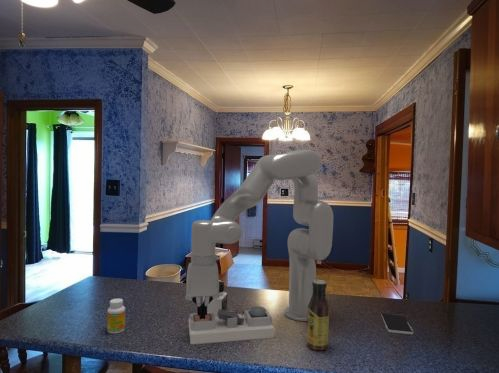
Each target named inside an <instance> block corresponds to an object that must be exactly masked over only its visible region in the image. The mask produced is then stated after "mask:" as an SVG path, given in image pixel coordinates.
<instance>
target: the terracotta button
mask: <svg viewBox="0 0 499 373" xmlns="http://www.w3.org/2000/svg"><path fill="white" fill-rule="evenodd" d="M210 319H211V317H210V316H209V315H205V319H203V318H202V319H200V317H199V316H195V322H197V321H210Z"/></svg>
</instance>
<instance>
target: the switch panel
mask: <svg viewBox="0 0 499 373" xmlns="http://www.w3.org/2000/svg"><path fill="white" fill-rule="evenodd" d="M265 309H266V308H265ZM228 311H229V312H233V313H235V311H234V310H228ZM243 312H244V313H243V314H242V316H243V318H244V322H243V324H240V323H237V317H234V318H227V320H222V319H219V318H218V317H214V313H210V312H208V313H207V315H209V316H210V317H211V319H210V321H197V322H195V316H197V312H195V313H189V318H188V334H189V340H190V341H189V342H190V345H202V344H213V343H215V344H216V343H224V342H228V343H229V342H236V341H237V342H238V341H239V342H240V341H248V340H249V341H251V340H261V339H263V340H264V339H272V338H273V339H274V338H275V330H276V329H275V326H274V325H273V323H272V320H273V319H272V318H273V317H272V315H271V314H270V312H269V311H268V309H266V312H265V317H255V318H251V316H250V309H247V310H244V311H243Z"/></svg>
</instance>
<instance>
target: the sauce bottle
mask: <svg viewBox="0 0 499 373" xmlns="http://www.w3.org/2000/svg"><path fill="white" fill-rule="evenodd" d="M312 286H313V294H312V297H311V300H310V302H309V305H308V318H307V321H306V322H307V323H306V342H307V343H306V344H307V346H308V348H310V349H311V350H315V351H323V350H324V351H325V350H327V348H328V343H329V341H328V340H329V327H330V326H329V324H330V323H329V322H330V321H329V320H330V313H329V312H330V311H329V310H330V304H329V302H328V299H327V294H326V291H327V290H326V288H327V281H325V280H323V279H316V280H314V281H313V283H312Z"/></svg>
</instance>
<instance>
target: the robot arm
mask: <svg viewBox="0 0 499 373" xmlns="http://www.w3.org/2000/svg"><path fill="white" fill-rule="evenodd" d="M321 161H322V160H321V156H320V155H319V153H318V152H317V151H315V150H313V149H298V150H291V151H287V152H285V153H279V154H278V153H277V154H267V155H263V156H262V157H260V158H259V159H258V161H257V162H256V163H255V164H254V167H252V169H251V171H250V172H249V174H248V175H247V176H246V178H245V180H243V182H242V184H241V185H240V187H239V188H238V189H237V190H235V191H234V192H233V193H232V194H231V195H229V196H228V198H227V199H226V200H224V201H223V202H222V204H221V205H220V206H219V208H218V209H217V210H216V211H215V213H214V214H213V216H212V217H211V219H210V220H208V219H202V220H200V219H199V220H194V221H193V222H192V224H191V246H190V248H191V249H190V250H191V252H190V256H191V257H190V262H189V263H188V266H187V270H186V271H187V272H186V279H185V280H186V283H185V290H186V293H185V296H184V297H185V298H184V299H185V300H186V301H191V302H193V303H194V304H196V307H197V310H196V313H197V316H199V317H200V319H202V318H203V319H205V315H207V306H208V304H209V303H210V302H211V301H212V300H214V299H218V298H219V297H220V296H219V280H220V277H219V267H218V263H217V261H220V259H221V256H220V255H217V254H216V244H225V245H231V244H234V243H235V244H236V243H237V242H239V240H240V239H241V237H242V234H243V229H242V227H241V225H240V224H239V223H238V222H236V221H235V220H236V219H237V217H239V216H240V215H241V214H242V213H244V212H245V211H247V210H248V209H251V208H253V207H256V206H257V205H259V204H260V203H261V202H262V200H263V199H264V197H265V196H266V194H267V193H268V191H269V190H270V188H271V187H272V186H273V184H274V182H275V181H287V180H292V182H293V190H294V192H293V193H294V194H293V207H292V208H293V210H292V213H293V214H292V217H293V220H294V221H295V222H296V223H297V224H299V225H302V226H306V227H309V228H308V229H307V228H303V227H300V228H295V229H293V230H292V231H291V232H290V233H289V235H288V237H287V249H288V250H287V251H288V256H289V257H288V258H289V272H288V273H289V274H288V276H289V279H288V281H289V282H288V283H289V284H288V306H287V307H286V308H285V309H284V311H283V312H284V316H286V318H289V319H290V320H294V321H299V322H300V321H301V322H307V318H308V305H309V302H310V300H311V297H312V294H313V286H312V283H313V281H314V280H317V279H316V278H317V277H316V274H317V266H316V261H324V260H326V259H327V257H328V256H329V255H330V253H331V250H332V247H333V232H334V212H333V209H332V207H331V205H330V204H328V203H327V201H324V200H318V199H319V197H318V196H319V185H318V180H317V178H316V175H315V174H316V173H317V172H318V171H319V169H320V167H321V163H322V162H321ZM203 297H205V298H204V302H203V301H201V298H203Z"/></svg>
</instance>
